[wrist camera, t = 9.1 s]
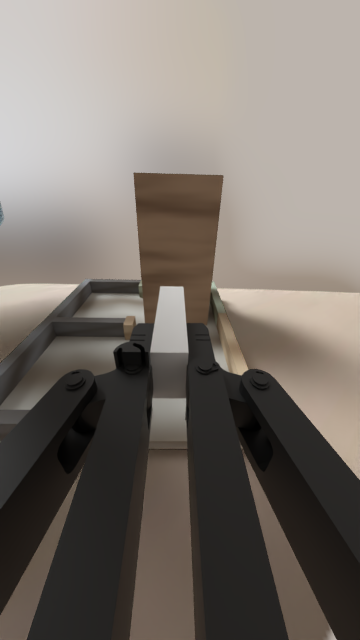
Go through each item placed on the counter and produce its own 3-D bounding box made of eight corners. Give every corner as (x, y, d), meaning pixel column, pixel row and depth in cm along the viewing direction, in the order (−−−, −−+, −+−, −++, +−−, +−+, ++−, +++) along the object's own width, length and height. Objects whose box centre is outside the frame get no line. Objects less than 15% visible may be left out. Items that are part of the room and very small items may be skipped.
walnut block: (207, 325, 27) (223, 175, 19) (144, 324, 27) (133, 172, 19) (201, 297, 34) (211, 178, 26) (151, 297, 34) (145, 176, 26)
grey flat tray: (259, 448, 15) (270, 424, 14) (-37, 448, 15) (-61, 423, 13) (211, 297, 37) (213, 281, 35) (89, 295, 36) (85, 278, 35)
